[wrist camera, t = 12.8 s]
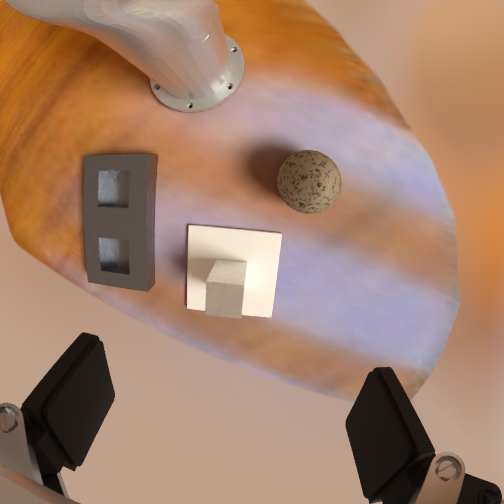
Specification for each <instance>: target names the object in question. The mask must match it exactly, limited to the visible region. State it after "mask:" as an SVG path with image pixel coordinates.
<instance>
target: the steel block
mask: <svg viewBox="0 0 504 504" xmlns="http://www.w3.org/2000/svg"><path fill="white" fill-rule="evenodd" d="M246 273H247V262H245V261H235V260H225V259H217V260H216V262H215V264H214V266H213V268H212V270H211V272H210V274H209V277H208V279H207V281H206V301H205V315H212V316H221V317H230V318H239V319H241V316H242V309H243V301H244V293H245V284H246Z"/></svg>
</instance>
